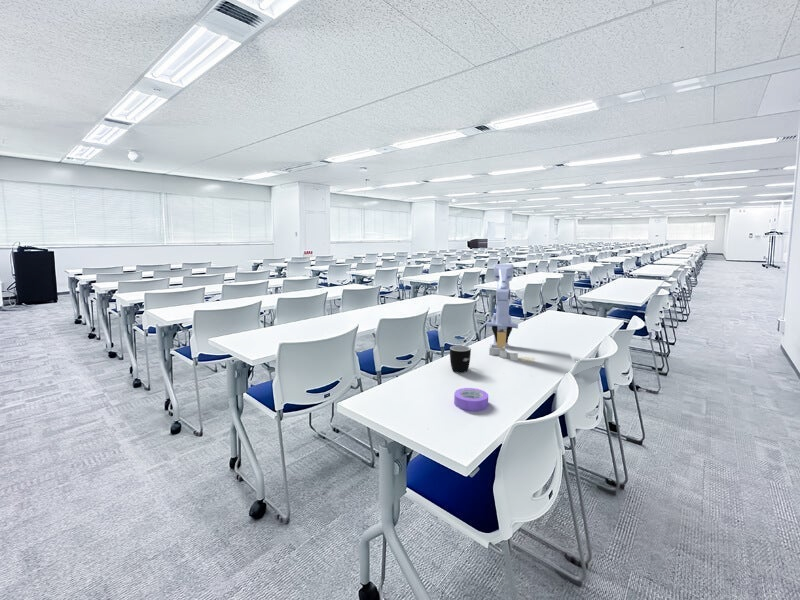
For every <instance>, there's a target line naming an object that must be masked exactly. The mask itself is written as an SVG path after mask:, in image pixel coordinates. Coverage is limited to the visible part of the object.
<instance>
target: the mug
mask: <svg viewBox="0 0 800 600" xmlns="http://www.w3.org/2000/svg"><path fill="white" fill-rule="evenodd" d="M471 351H472V349H471V347H470V346H468V345H467V346H466V345H461V344H460V345H458V344H457V345H452V346H450V347H449V360H450V362H449V363H450V367H451V370H452V371H453V372H454V373H457V372H458V374H462V373H463V374H464V373H466V372H468V371H469V368H470V362H471V354H472V352H471Z"/></svg>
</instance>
